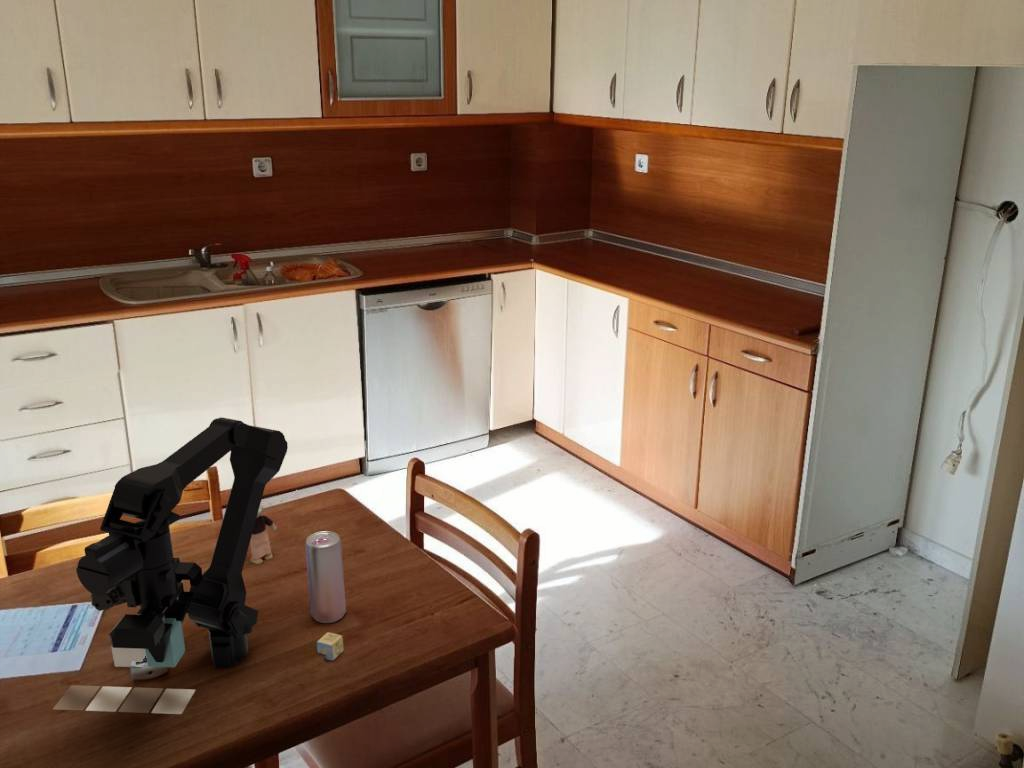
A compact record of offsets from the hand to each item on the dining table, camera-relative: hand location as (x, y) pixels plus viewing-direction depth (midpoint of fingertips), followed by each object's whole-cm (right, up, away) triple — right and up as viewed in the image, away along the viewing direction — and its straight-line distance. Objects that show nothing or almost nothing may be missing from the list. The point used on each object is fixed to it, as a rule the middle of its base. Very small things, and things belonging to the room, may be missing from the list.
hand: (166, 652), depth 138 cm
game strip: (-7, -9, +4) cm, 12 cm away
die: (-10, -5, +13) cm, 17 cm away
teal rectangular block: (0, -1, 0) cm, 1 cm away
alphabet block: (+21, -5, +15) cm, 27 cm away
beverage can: (+19, -1, +26) cm, 32 cm away
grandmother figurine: (+2, +5, +44) cm, 44 cm away
